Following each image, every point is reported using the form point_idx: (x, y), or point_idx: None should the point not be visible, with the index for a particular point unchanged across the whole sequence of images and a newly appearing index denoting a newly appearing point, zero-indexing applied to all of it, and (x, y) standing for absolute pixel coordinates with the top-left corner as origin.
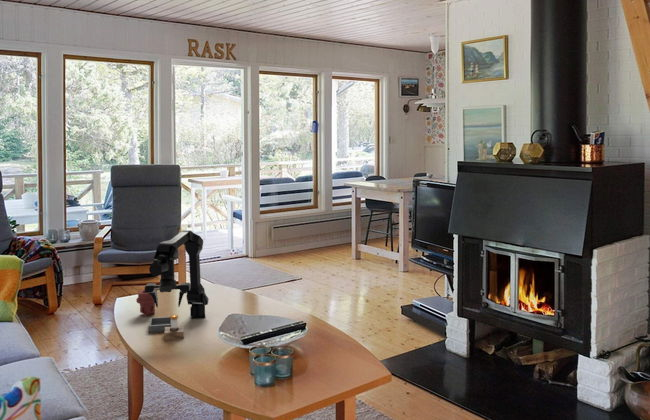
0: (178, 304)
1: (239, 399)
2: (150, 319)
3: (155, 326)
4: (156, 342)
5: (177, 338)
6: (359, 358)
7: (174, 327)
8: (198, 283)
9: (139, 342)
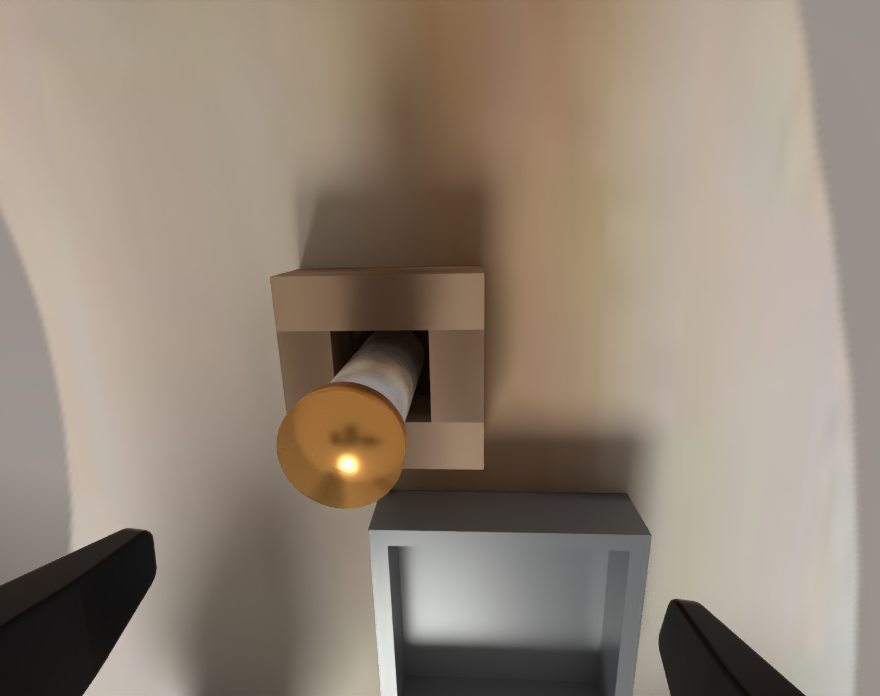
0: (92, 568)
1: None
2: None
3: (580, 527)
4: (563, 204)
5: (359, 269)
6: None
7: (369, 353)
8: None
9: (735, 241)
